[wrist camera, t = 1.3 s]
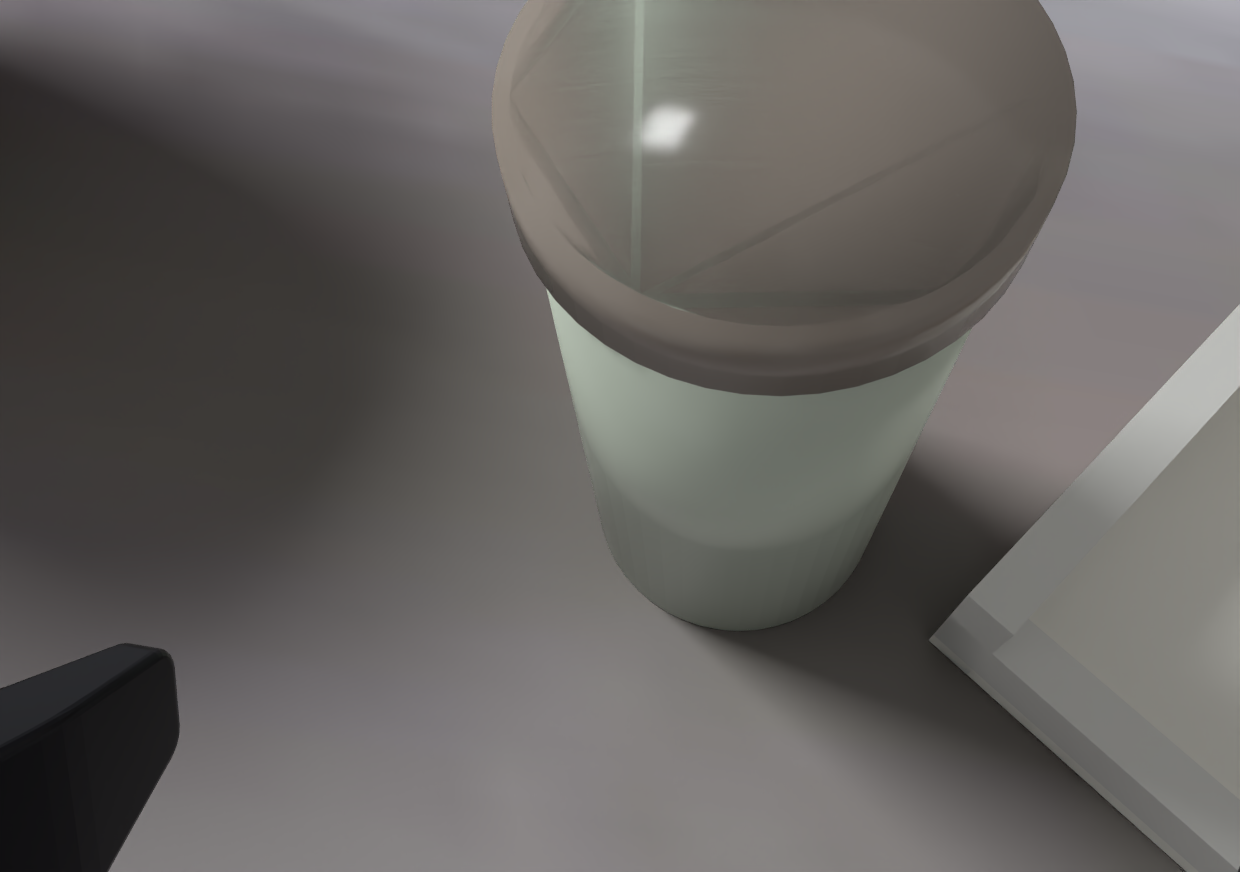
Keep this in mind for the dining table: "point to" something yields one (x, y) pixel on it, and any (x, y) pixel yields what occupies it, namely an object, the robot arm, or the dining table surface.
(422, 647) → the dining table surface
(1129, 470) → the tray
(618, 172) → the sage jar
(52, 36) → the dining table surface
